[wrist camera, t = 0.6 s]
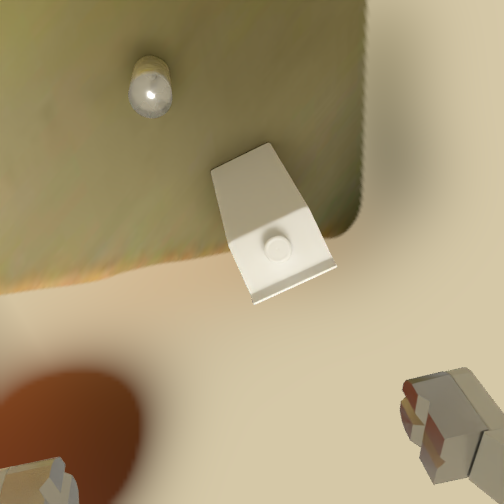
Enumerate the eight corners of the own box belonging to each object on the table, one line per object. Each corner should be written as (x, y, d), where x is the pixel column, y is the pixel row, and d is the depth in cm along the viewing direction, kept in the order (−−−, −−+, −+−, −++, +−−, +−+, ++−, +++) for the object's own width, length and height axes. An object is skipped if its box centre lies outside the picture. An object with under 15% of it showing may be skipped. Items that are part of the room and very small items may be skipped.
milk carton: (292, 193, 52) (349, 296, 36) (237, 220, 52) (270, 332, 37) (269, 140, 48) (322, 231, 32) (209, 170, 48) (234, 272, 33)
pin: (137, 50, 41) (133, 68, 34) (173, 62, 42) (176, 82, 35) (129, 87, 42) (124, 111, 36) (165, 97, 43) (166, 123, 37)
